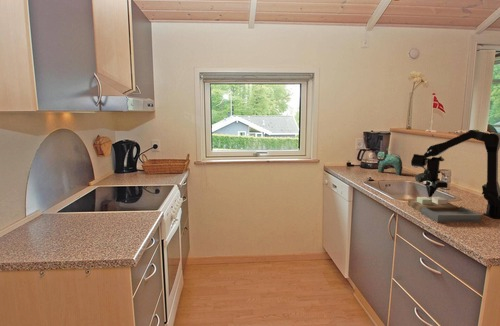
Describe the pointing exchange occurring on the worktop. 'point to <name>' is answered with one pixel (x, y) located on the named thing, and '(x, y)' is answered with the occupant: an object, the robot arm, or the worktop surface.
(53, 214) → the worktop surface
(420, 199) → the sage tile
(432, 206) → the walnut plate
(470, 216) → the box
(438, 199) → the white tile
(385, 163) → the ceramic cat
